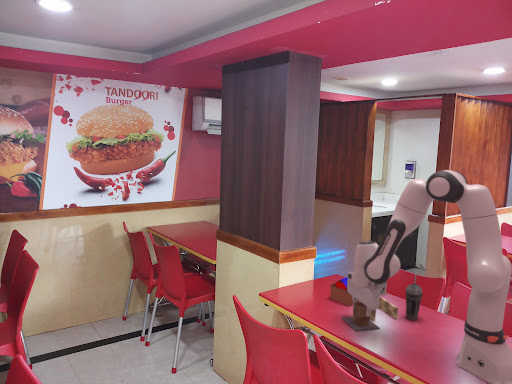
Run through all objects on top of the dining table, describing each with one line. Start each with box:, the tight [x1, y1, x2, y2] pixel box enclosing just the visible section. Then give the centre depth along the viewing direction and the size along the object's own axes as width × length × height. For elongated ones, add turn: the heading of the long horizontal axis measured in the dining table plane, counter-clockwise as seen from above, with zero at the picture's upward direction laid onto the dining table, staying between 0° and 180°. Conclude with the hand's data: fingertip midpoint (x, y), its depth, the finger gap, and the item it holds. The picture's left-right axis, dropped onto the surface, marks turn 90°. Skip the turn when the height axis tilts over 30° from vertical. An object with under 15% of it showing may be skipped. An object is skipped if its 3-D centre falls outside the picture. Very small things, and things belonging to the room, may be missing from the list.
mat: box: [341, 316, 381, 332], centre depth 176 cm, size 12×11×1 cm
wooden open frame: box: [358, 296, 399, 322], centre depth 187 cm, size 14×12×5 cm
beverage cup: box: [404, 273, 423, 321], centre depth 183 cm, size 7×7×20 cm
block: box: [352, 302, 371, 326], centre depth 175 cm, size 5×5×8 cm
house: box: [329, 276, 353, 307], centre depth 204 cm, size 12×20×12 cm, turn 133°
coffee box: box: [374, 280, 388, 296], centre depth 214 cm, size 9×6×16 cm
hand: (361, 311), depth 175 cm, fingers open, 8 cm apart
